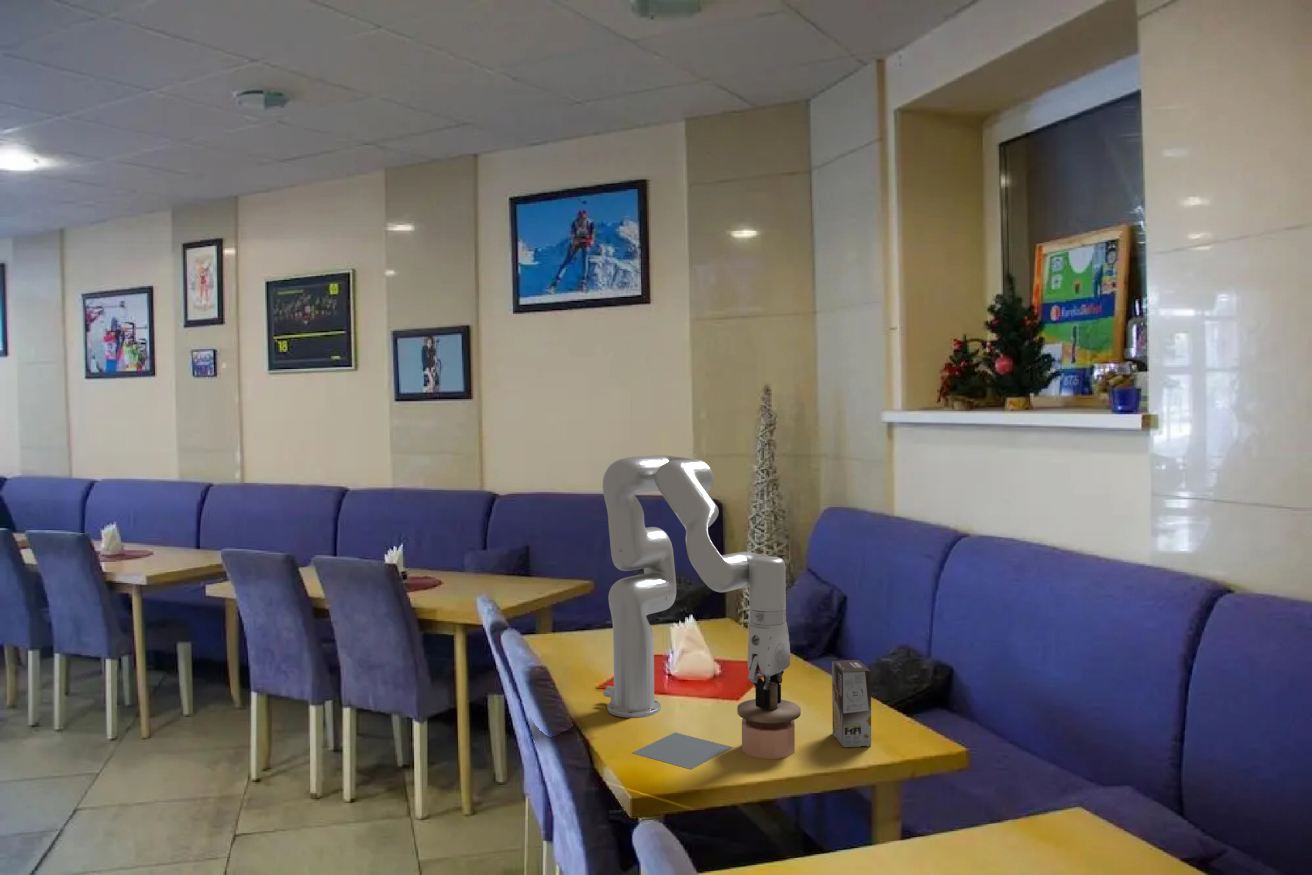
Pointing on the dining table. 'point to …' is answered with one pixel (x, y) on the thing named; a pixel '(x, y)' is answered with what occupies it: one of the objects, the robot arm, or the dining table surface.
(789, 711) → the lid
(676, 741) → the mat
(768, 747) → the bowl
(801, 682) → the dining table surface
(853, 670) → the coffee box
